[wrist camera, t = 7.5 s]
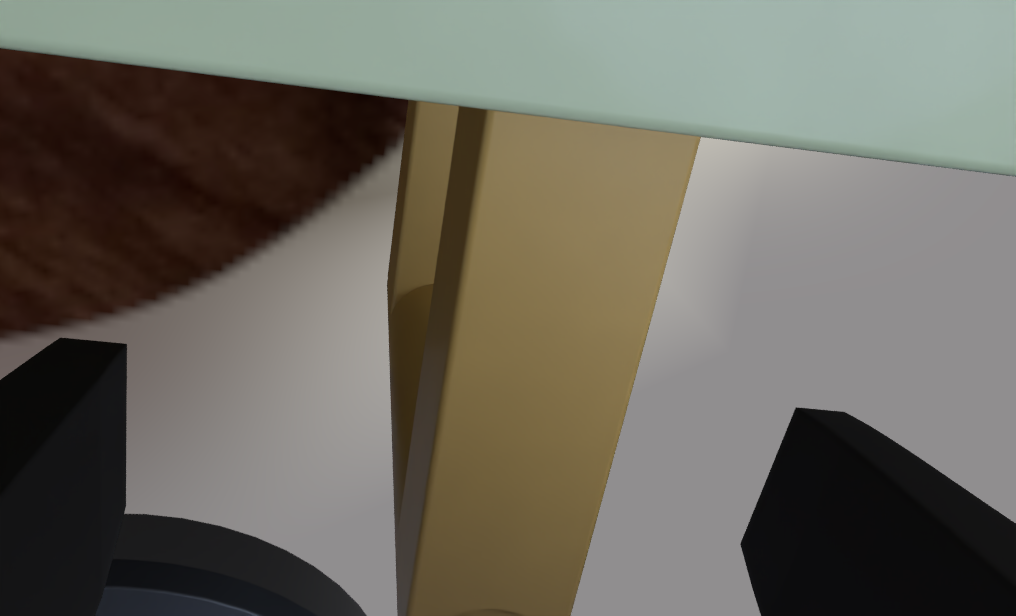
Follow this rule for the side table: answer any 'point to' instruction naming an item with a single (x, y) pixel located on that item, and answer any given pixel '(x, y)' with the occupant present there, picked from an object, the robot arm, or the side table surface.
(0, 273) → the side table surface
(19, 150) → the side table surface
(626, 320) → the door
